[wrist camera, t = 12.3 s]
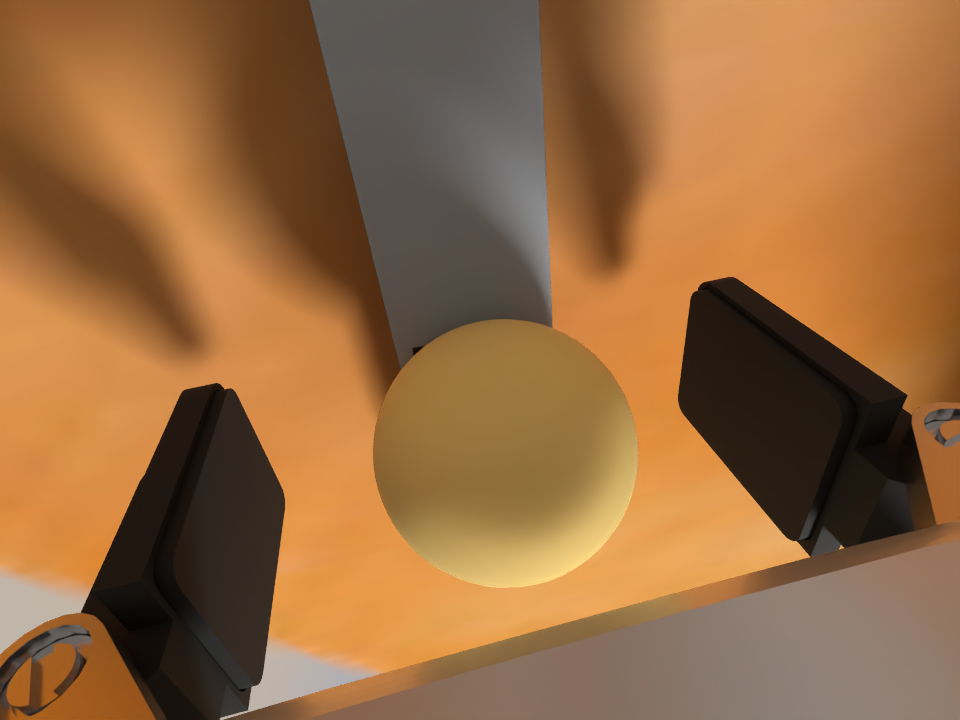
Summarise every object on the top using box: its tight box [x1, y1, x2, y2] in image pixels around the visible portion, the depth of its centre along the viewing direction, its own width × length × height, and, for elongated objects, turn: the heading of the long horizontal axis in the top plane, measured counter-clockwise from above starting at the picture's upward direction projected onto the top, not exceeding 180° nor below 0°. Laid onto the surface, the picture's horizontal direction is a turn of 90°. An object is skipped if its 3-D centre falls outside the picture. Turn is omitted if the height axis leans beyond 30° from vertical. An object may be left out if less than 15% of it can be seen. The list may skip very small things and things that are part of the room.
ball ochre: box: [373, 319, 638, 588], centre depth 9 cm, size 4×4×4 cm
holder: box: [309, 0, 552, 370], centre depth 9 cm, size 3×16×2 cm, turn 7°
